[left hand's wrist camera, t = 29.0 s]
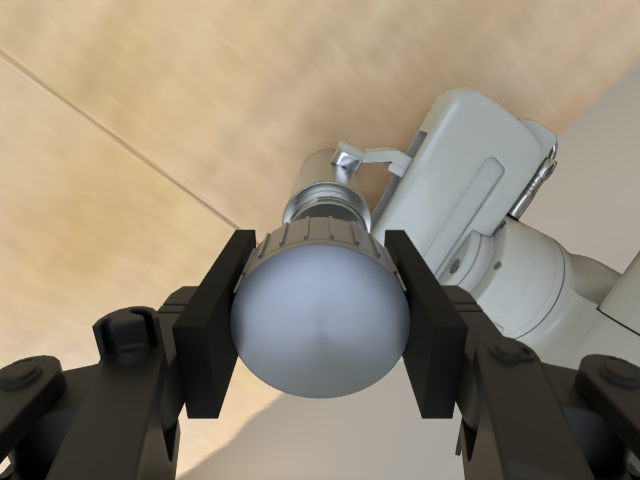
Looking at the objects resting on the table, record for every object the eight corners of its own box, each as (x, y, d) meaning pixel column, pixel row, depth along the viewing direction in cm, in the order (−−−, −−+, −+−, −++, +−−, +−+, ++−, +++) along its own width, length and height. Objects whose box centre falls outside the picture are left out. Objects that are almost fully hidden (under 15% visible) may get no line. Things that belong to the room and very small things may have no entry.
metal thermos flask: (356, 201, 32) (379, 281, 18) (303, 206, 32) (283, 288, 18) (352, 147, 30) (375, 186, 16) (297, 152, 31) (269, 195, 16)
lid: (306, 180, 11) (302, 200, 9) (429, 276, 12) (454, 316, 10) (214, 297, 13) (190, 341, 10) (331, 373, 14) (333, 426, 11)
